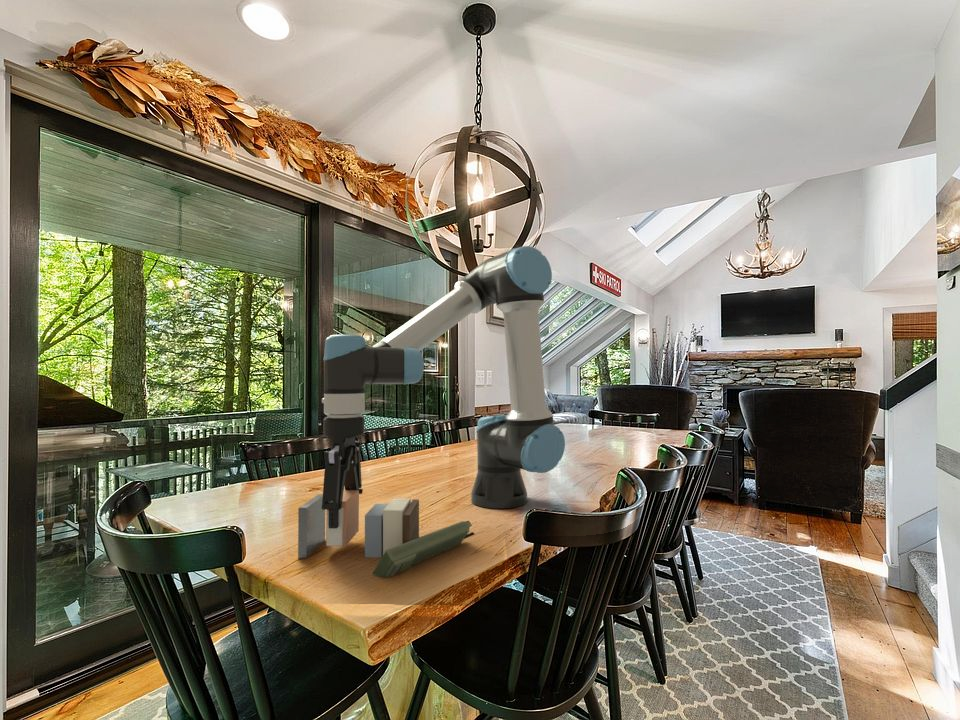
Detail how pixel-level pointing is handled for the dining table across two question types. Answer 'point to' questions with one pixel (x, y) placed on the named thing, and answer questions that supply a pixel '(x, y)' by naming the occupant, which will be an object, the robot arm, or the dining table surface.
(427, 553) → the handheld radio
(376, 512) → the slate book
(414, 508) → the dark brown block piece
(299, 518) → the bookend
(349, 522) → the rust book
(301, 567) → the dining table surface
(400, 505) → the cream book
